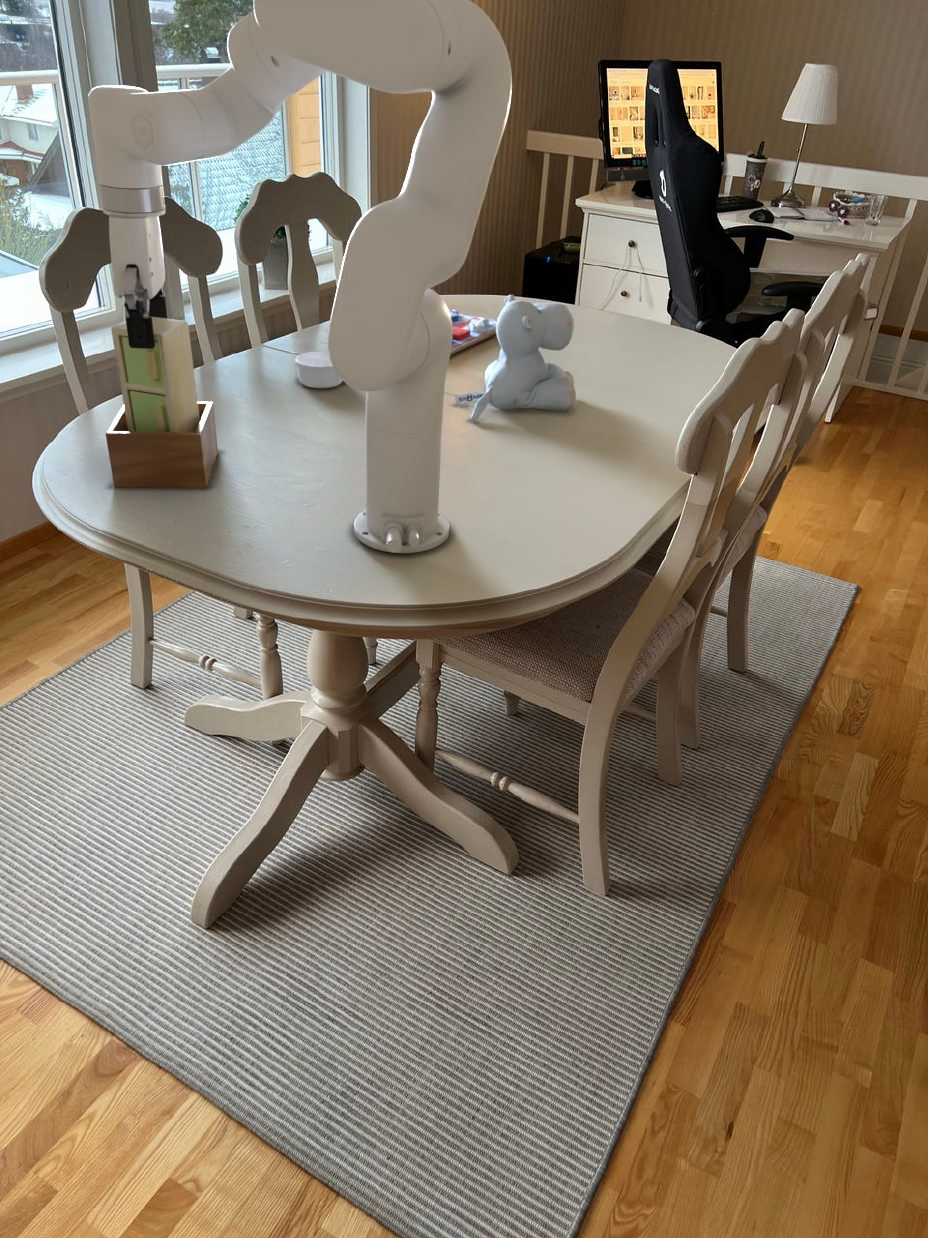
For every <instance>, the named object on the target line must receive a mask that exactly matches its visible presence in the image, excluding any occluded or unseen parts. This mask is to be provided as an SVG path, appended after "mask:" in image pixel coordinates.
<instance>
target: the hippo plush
mask: <svg viewBox="0 0 928 1238" xmlns="http://www.w3.org/2000/svg"><path fill="white" fill-rule="evenodd" d="M504 304H505V306H503V308H502V309H501V311H500V313H499V315H498V317H497V320H496V321H497V323H496V334H495V335H496V338H497V341H498V344H499V346H500V351H499V357H498V359H496V360H494V361H493V362H491V363H490V364H489V365H488V366H487V368H486V369H485V372H484V383H485V391H475V392H469V393H465V394H461V395H460V394H459V395H457V394H454V400H455V406H464V405H470V404H474V403H475V405H474V408H473V410H472V412H471V415H470V417H469V420H470V421H471V422H476V421H477V420H478V419H479V418H480V417H481V415H482V414H483V412H484V411H485V410H486V408H487V407H488V405H489V404H490V406H492V407H494V408H495V409H499V410H502V411H509V410H516V409H535V410H548V411H553V412H564V413H565V412H570V411H571V410H572V409H573V407H574V405H575V404H576V401H577V391H576V388H575V379H574V376H573V374H572V373H571V372H569V371H567V370H564V369H563V368H562V367H560V366H559V365H558V364H555V363H553V362H548V361H545V359H544V357H543V354H542V353H541V352H540V350H539V349H540V348H541V349H545V350H550V351H555V352H556V351H558V352H559V351H562V350H564V349H565V348H566V347H568V345H570V342H571V340H572V338H573V334H574V329H575V321H574V317H573V314H572V312H571V310H569V308H568V307H567V305H565V304H562V303H557V302H537V303H532V302H529V301H525V300H516V297H515V295H514V294H509V295H507V296H506V297H505V298H504Z"/></svg>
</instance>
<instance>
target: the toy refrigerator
mask: <svg viewBox="0 0 928 1238" xmlns="http://www.w3.org/2000/svg"><path fill="white" fill-rule="evenodd" d="M149 317H152V316H149ZM152 323H153V331H154V339H155V347H154V348H153V349H143V348H131V347H130V346H129V341H128V333H127V326H126V320H124V321H122V322H120V323H119V322H118V323H117V324H115V325H113V326H112V327H111V336H112V343H113V349H114V354H115V360H116V366H117V372H118V377H119V383H120V391H121V395H122V402H123V404H124V408H125V415H126V421H127V427H128V431H135V432H193V433H196V431H197V428H198V426H199V423H200V417H199V409H198V402H199V401H198V394H197V393H198V392H197V385H196V377H195V368H194V360H193V353H192V351H193V350H192V343H191V335H190V328H189V323H188V322H187V321H185V320H180V319H174V318H168V319H166V318H159V317H152Z"/></svg>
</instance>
